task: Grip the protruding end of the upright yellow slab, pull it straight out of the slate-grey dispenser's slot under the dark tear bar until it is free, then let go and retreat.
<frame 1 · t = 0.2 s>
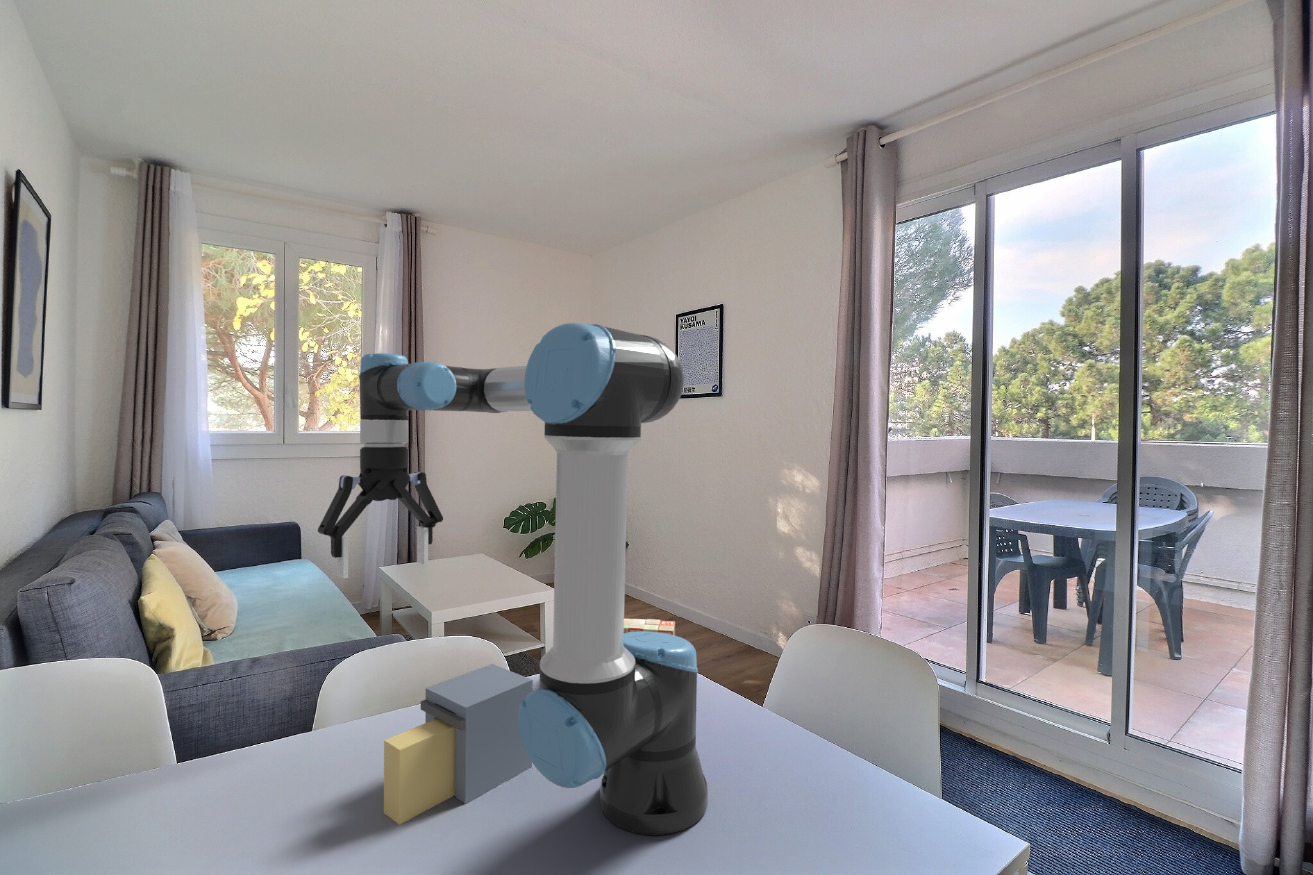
hand: (384, 569, 104), 28 cm above the table, fingers open, 13 cm apart
stack of blocks: (622, 682, 127), on the table
dispenser: (479, 772, 93), on the table
upright yellow slab: (438, 794, 87), on the table
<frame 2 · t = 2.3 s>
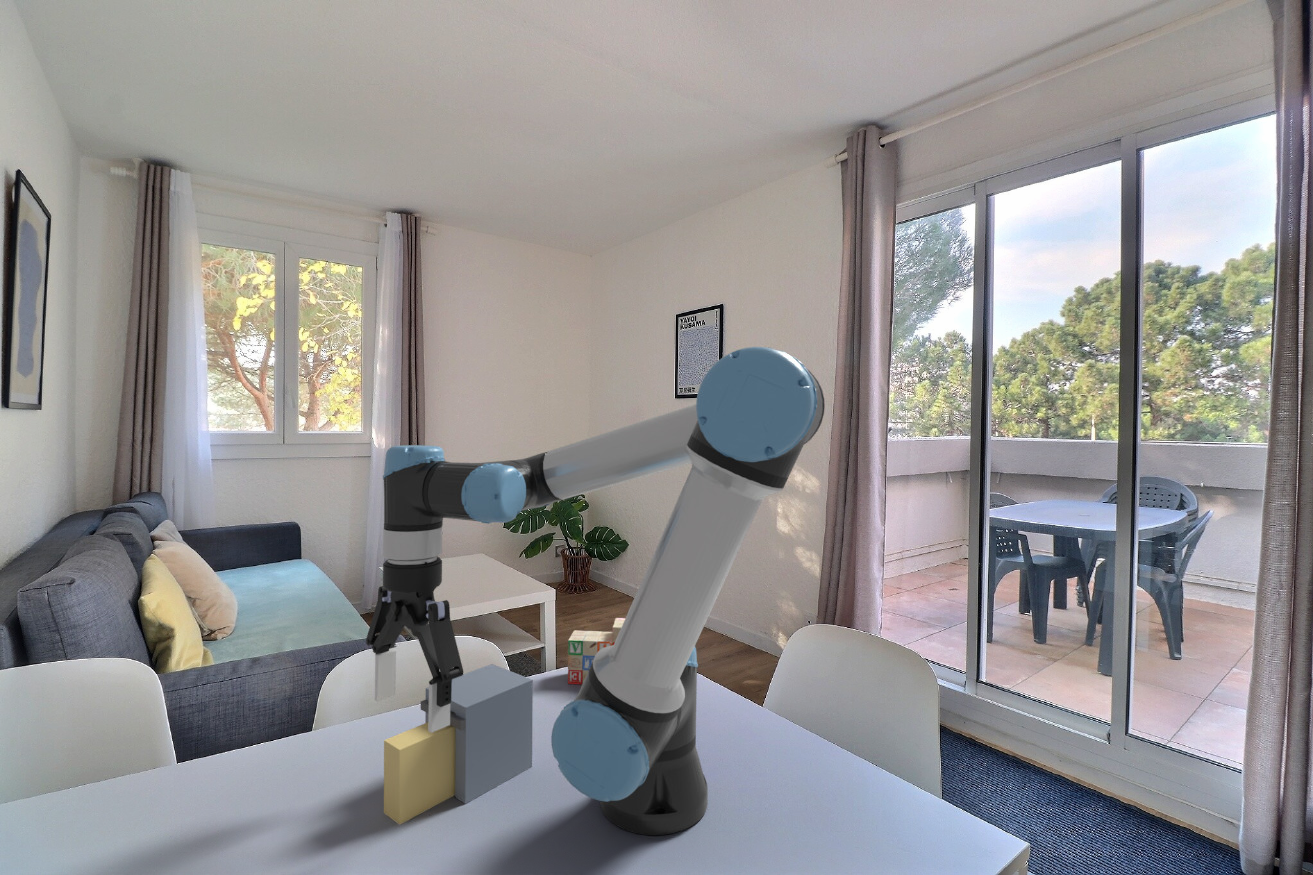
hand: (410, 712, 84), 13 cm above the table, fingers open, 13 cm apart
nothing on the table moved.
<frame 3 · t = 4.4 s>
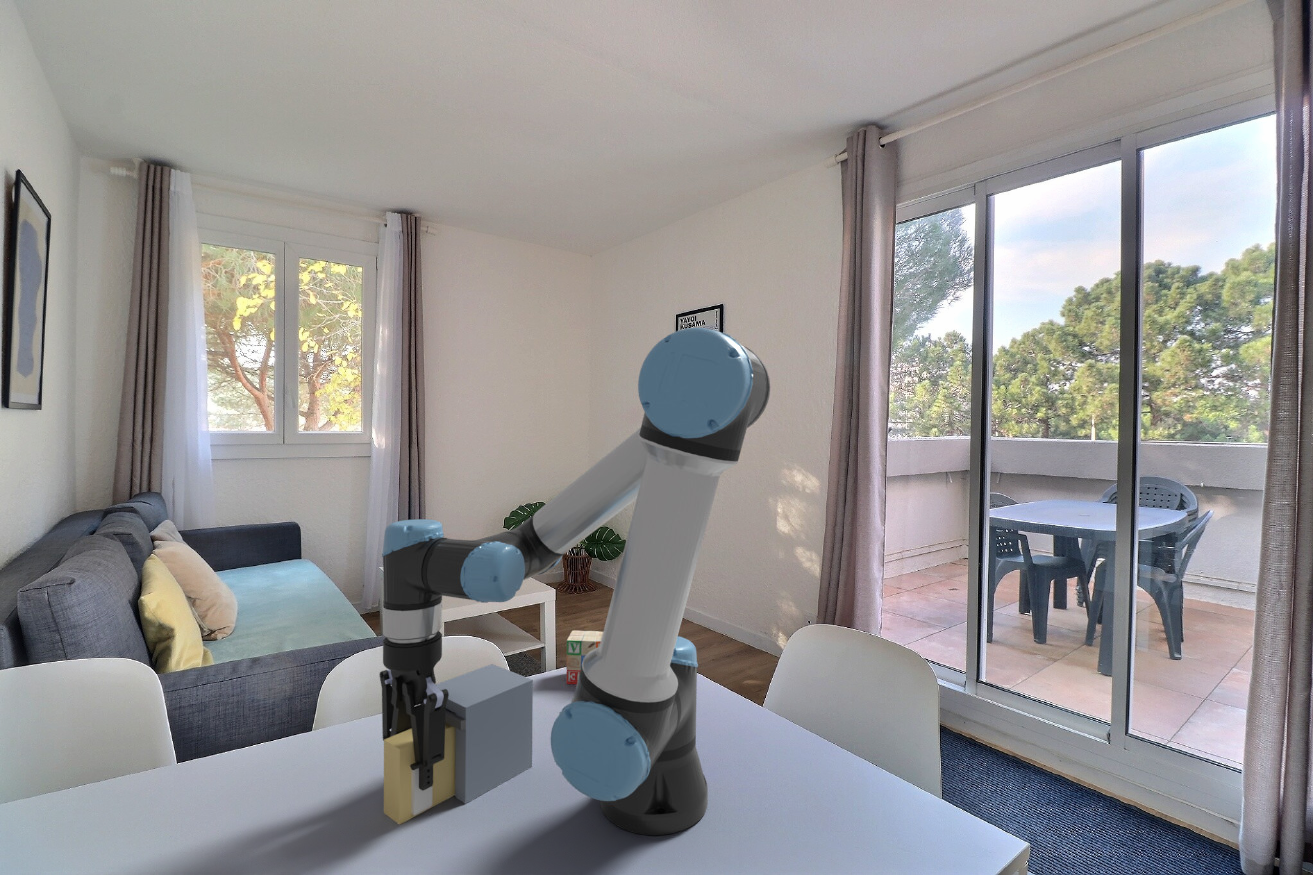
hand: (412, 802, 84), 1 cm above the table, fingers closed on upright yellow slab, 4 cm apart
upright yellow slab: (438, 793, 87), on the table, touching gripper
everything else where it was.
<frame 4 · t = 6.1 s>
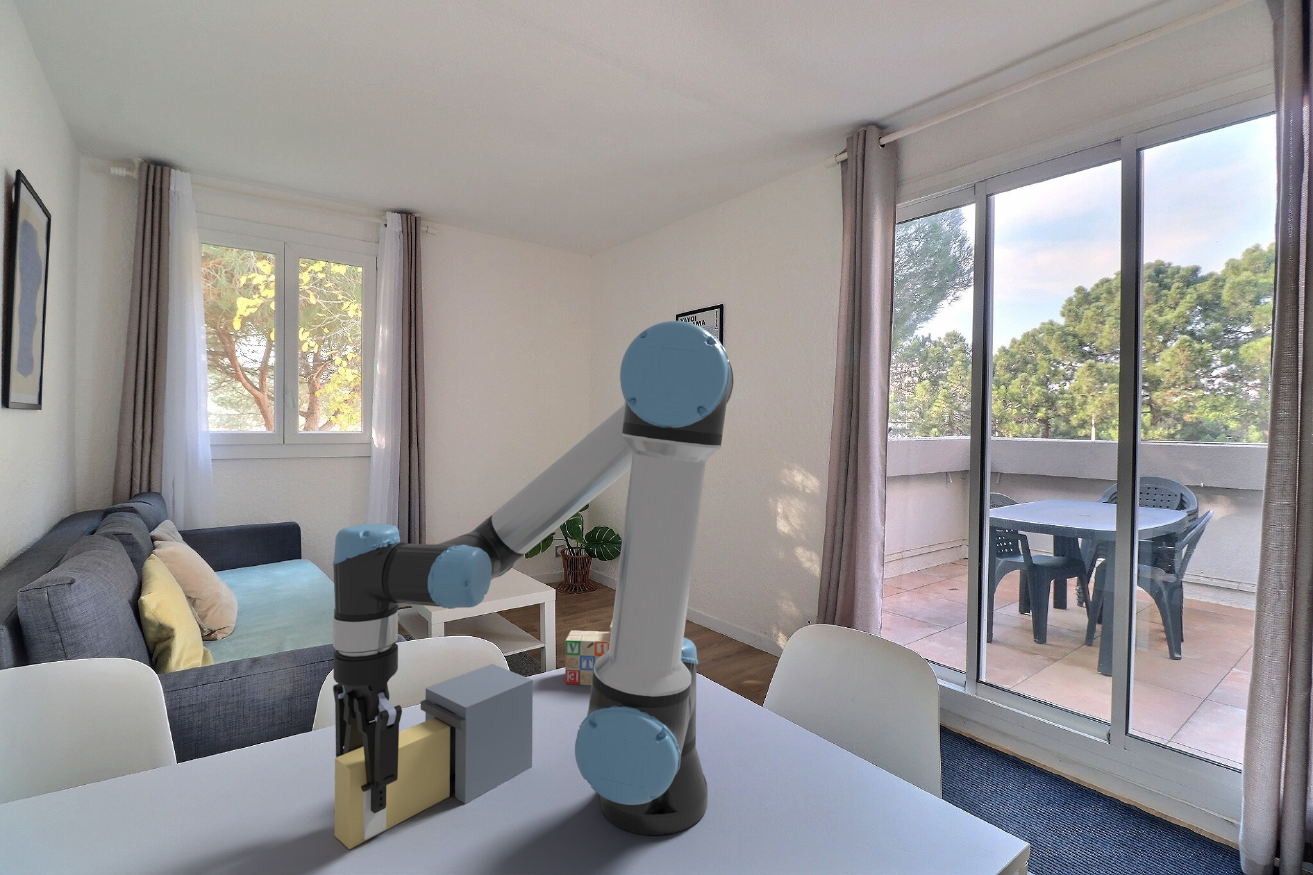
hand: (365, 824, 79), 1 cm above the table, fingers closed on upright yellow slab, 4 cm apart
upright yellow slab: (395, 814, 82), on the table, touching gripper
everything else where it was.
when the fingers open (1 cm above the table, at t = 7.7 s): upright yellow slab stays where it is, on the table.
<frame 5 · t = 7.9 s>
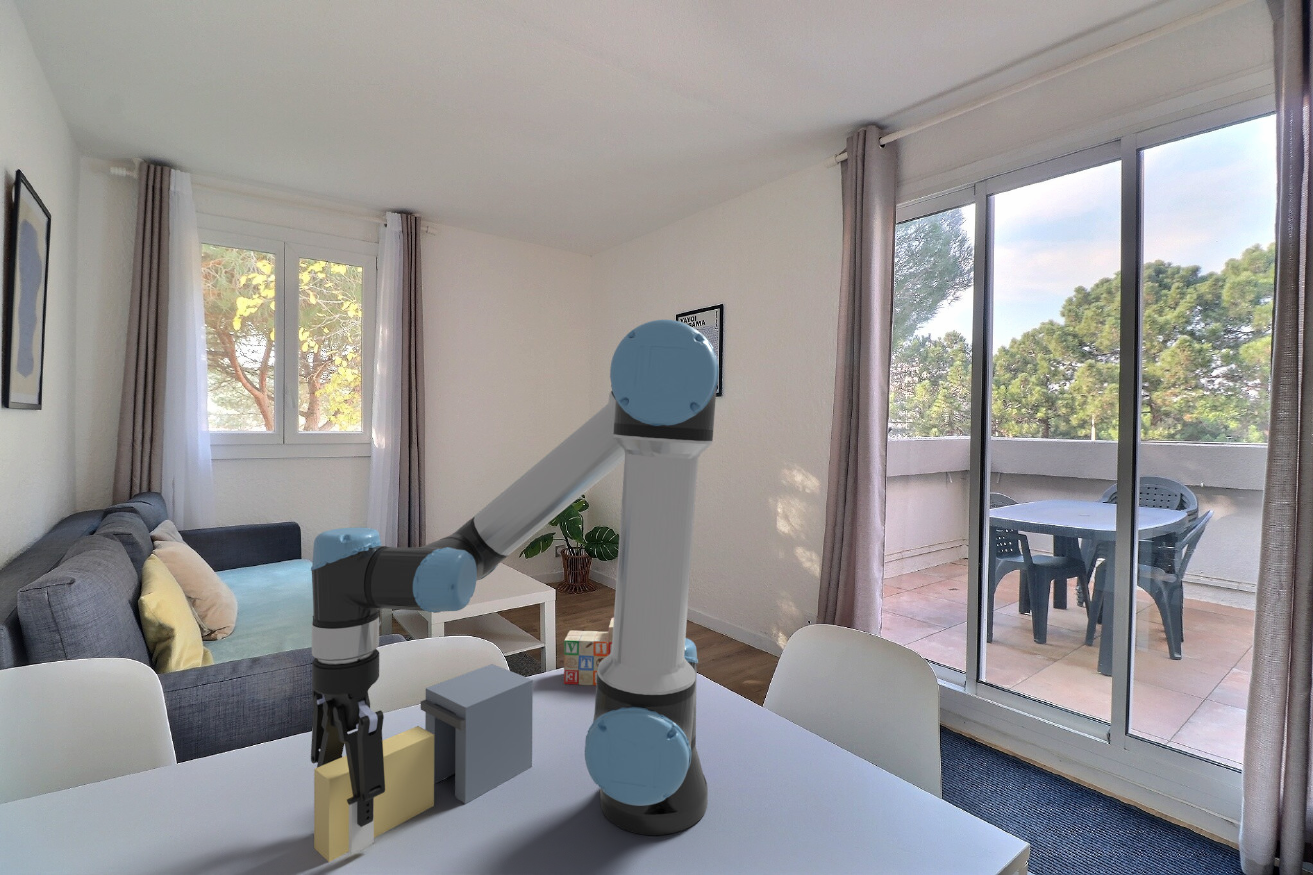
hand: (346, 833, 77), 1 cm above the table, fingers open, 7 cm apart
upright yellow slab: (377, 826, 80), on the table
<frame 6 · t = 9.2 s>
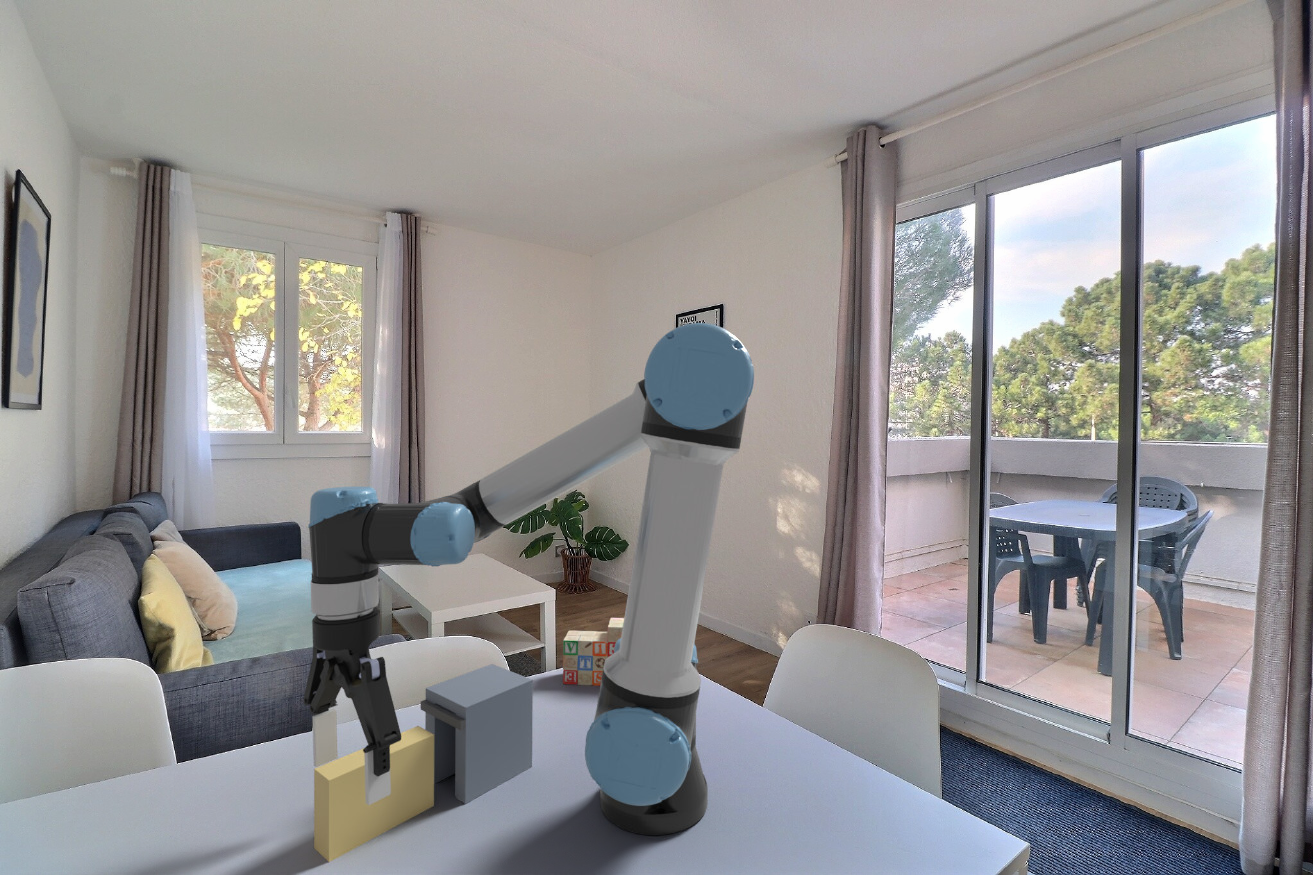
hand: (350, 779, 77), 8 cm above the table, fingers open, 13 cm apart
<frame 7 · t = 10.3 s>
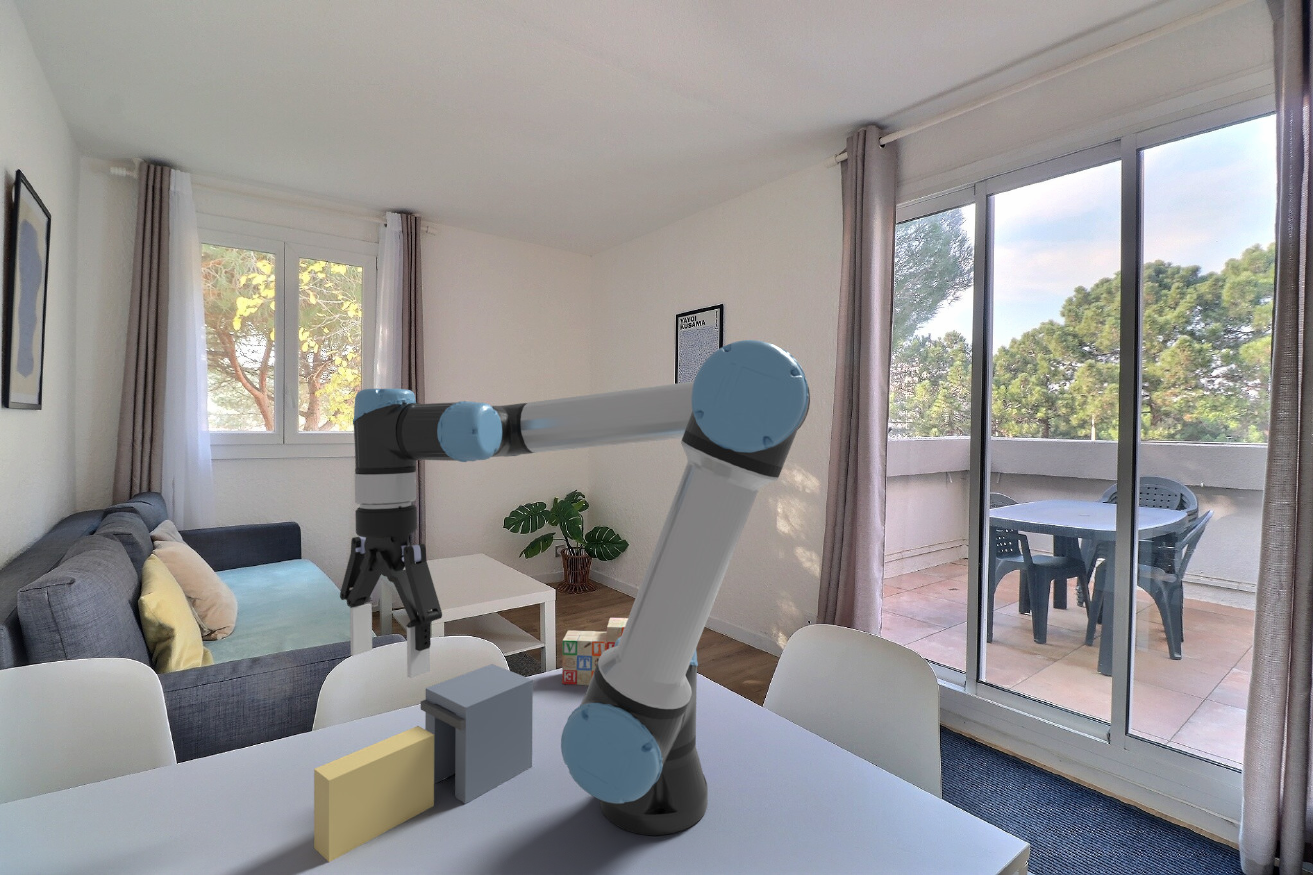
hand: (388, 662, 82), 21 cm above the table, fingers open, 13 cm apart
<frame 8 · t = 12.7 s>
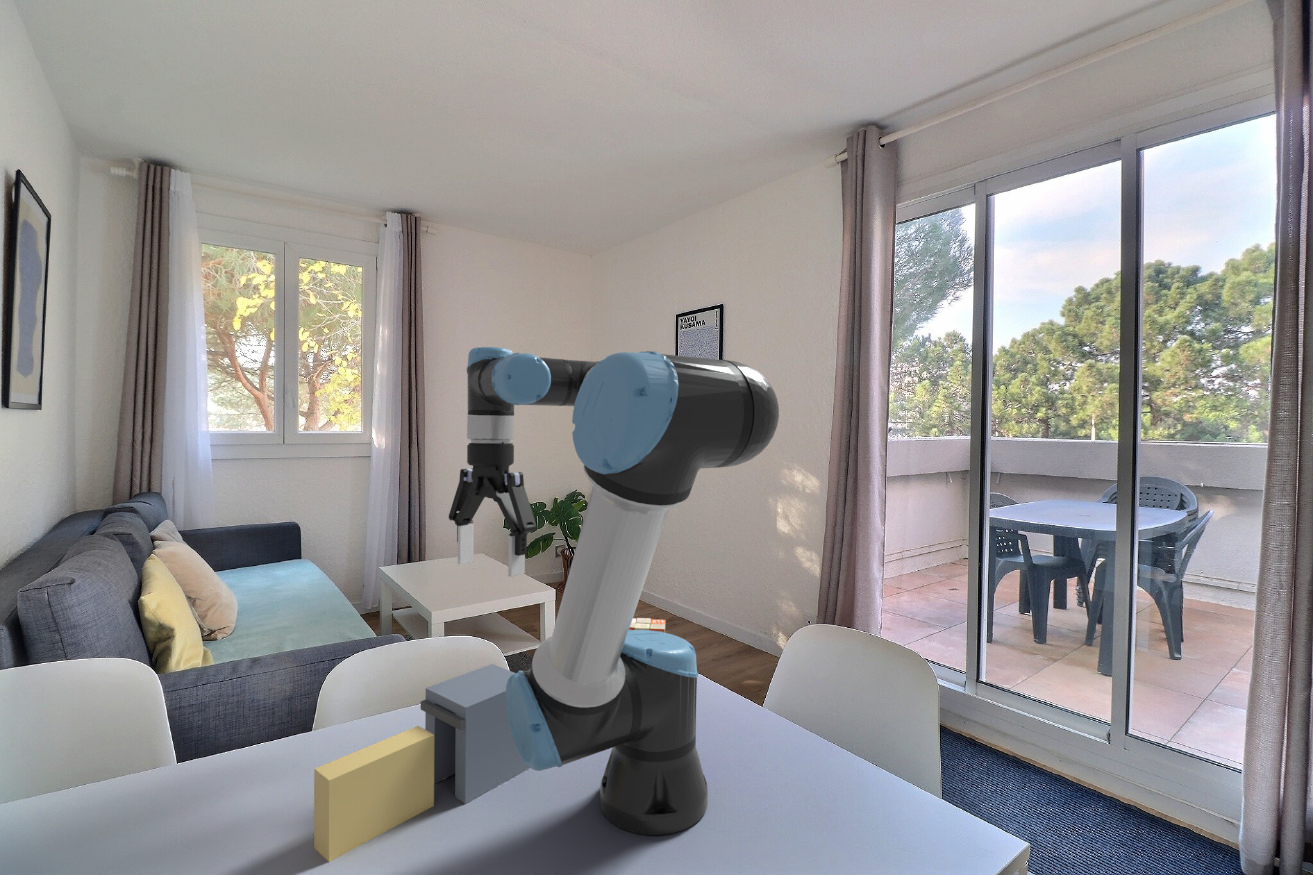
hand: (490, 568, 102), 29 cm above the table, fingers open, 13 cm apart
at the end: upright yellow slab inside the target area (5.6 cm from its centre), on the table; upright yellow slab touching table; the gripper is holding nothing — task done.
